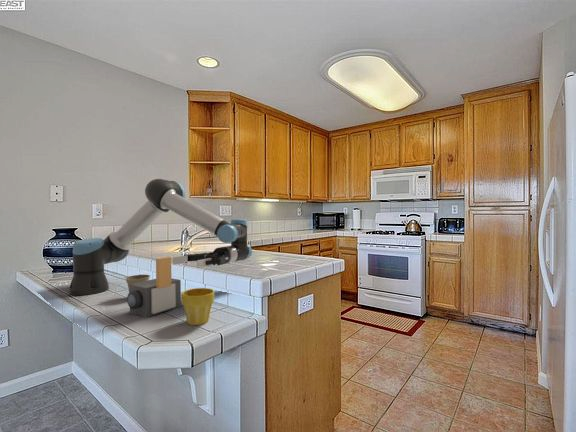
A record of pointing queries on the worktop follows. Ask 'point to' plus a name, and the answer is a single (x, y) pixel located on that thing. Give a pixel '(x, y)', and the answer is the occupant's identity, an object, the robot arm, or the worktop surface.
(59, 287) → the worktop surface
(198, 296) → the plant pot
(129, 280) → the flower pot
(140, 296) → the camera body
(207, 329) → the worktop surface
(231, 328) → the worktop surface
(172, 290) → the sliding cover
